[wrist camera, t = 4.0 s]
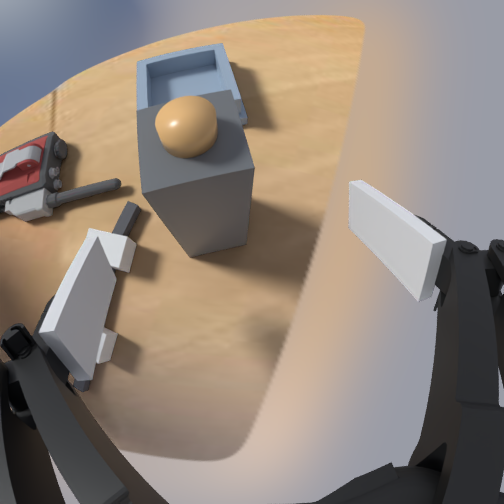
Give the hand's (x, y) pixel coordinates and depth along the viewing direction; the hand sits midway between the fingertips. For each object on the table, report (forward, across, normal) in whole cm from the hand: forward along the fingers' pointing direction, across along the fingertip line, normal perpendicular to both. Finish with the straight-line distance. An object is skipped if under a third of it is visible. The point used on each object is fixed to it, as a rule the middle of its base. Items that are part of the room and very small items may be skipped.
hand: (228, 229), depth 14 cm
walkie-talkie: (+15, -18, +3) cm, 23 cm away
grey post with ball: (+8, -1, -4) cm, 9 cm away
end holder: (+18, -1, +6) cm, 19 cm away
